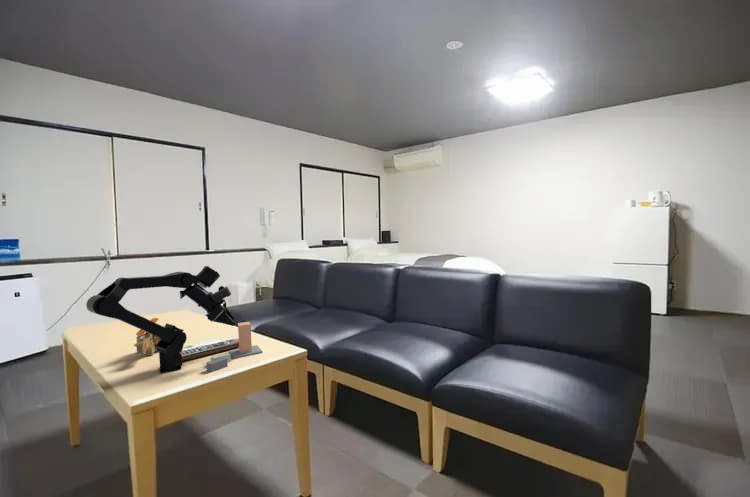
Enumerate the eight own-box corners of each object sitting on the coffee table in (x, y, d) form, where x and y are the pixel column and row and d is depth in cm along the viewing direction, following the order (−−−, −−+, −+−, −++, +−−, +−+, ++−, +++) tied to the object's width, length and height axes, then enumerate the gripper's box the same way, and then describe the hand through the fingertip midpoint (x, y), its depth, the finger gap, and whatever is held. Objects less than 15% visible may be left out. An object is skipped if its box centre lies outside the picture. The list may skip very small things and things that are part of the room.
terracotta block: (239, 353, 138) (238, 325, 137) (239, 350, 142) (237, 323, 141) (251, 351, 139) (250, 324, 139) (251, 348, 143) (249, 321, 143)
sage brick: (214, 366, 127) (214, 358, 127) (211, 364, 129) (210, 356, 129) (230, 361, 131) (230, 354, 131) (227, 360, 133) (226, 352, 133)
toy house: (167, 346, 150) (165, 315, 150) (154, 364, 131) (151, 327, 130) (145, 349, 148) (143, 317, 147) (128, 367, 128) (125, 330, 127)
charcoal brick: (211, 372, 122) (210, 364, 121) (206, 370, 124) (206, 362, 123) (227, 367, 126) (227, 358, 126) (223, 365, 128) (222, 357, 128)
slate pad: (233, 358, 134) (233, 357, 134) (228, 352, 141) (228, 350, 141) (262, 352, 140) (262, 351, 140) (256, 346, 147) (256, 345, 147)
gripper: (215, 283, 127) (249, 310, 131) (218, 277, 144) (247, 301, 149) (192, 307, 124) (228, 334, 129) (197, 298, 142) (228, 322, 146)
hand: (234, 321), depth 138 cm, fingers open, 9 cm apart
